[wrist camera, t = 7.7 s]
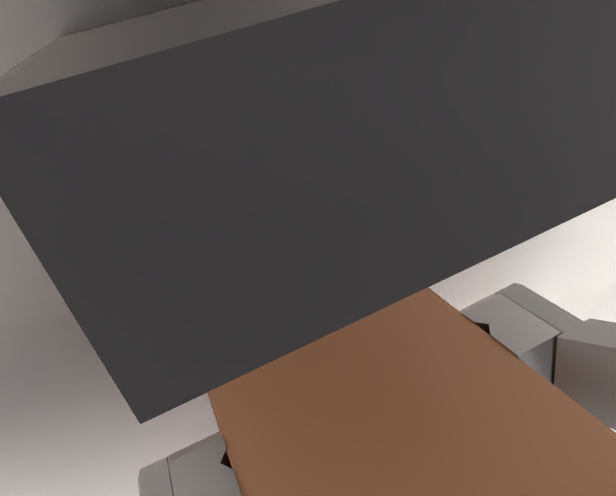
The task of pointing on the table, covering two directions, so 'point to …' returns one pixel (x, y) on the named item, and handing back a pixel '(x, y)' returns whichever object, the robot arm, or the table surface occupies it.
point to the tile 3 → (295, 166)
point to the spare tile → (410, 416)
